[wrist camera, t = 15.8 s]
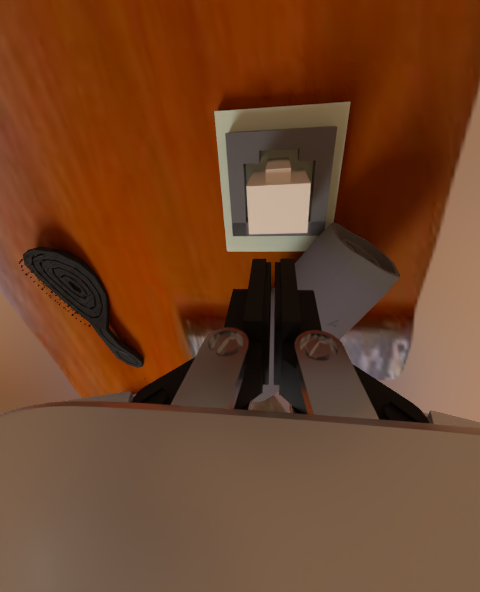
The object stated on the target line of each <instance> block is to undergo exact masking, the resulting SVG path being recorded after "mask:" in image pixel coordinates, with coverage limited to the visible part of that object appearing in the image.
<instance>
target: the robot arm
mask: <svg viewBox="0 0 480 592" xmlns="http://www.w3.org/2000/svg"><path fill="white" fill-rule="evenodd" d="M270 323H271V262H266V259H253V261H252V267H251V274H250V280H249V286H248V289H233V292H232V296H231V301H230V305H229V309H228V313H227V317H226V321H225V326H224V328H220V329H217V330H215V331H213V332H211V333H210V334H209V335H208V336H207V337H206V338H205V340H204V342H203V344H202V346H201V347H200V349H199V351H198V353H197V355H196V357H195V358H193V359H191V360H190V361H188V362H186V363H184V364H183V365H181V366H179V367H178V368H176V369H174V370H172V371H171V372H169V373H167V374H166V375H164V376H162V377H160V378H159V379H157V380H155V381H154V382H152V383H150V384H149V385H147V386H145V387H144V388H142V389H141V390H140V391H139V392H138V393H137V394H132V393H131V391H128V392H121V393H114V394H107V395H101V396H94V397H87V398H80V399H73V400H69V401H64V402H51V403H45V404H39V405H33V406H27V407H23V408H20V409H16V410H12V411H8V412H5V413H2V414H0V592H480V423H479V422H475V421H471V420H467V419H463V418H459V417H455V416H451V415H447V414H443V413H439V412H435V411H430V412H429V414H427V413H423V412H422V411H421V410H420V409H419V408H418V407H417V406H415V405H414V404H413V403H411V402H410V401H408V400H407V399H405V398H404V397H402V396H400V395H399V394H397V393H396V392H395V391H393V390H391V389H390V388H388V387H387V386H385V385H383V384H382V383H381V382H379V381H378V380H376V379H375V378H373V377H371V376H370V375H368V374H367V373H365V372H364V371H362V370H361V369H359V368H358V367H356V366H355V365H353V364H352V363H351V361H350V359H349V357H348V355H347V353H346V351H345V349H344V346H343V344H342V343H341V342H340V340H339V339H338V338H336V337H335V336H334V335H332V334H330V333H328V332H324V331H322V328H321V324H320V319H319V314H318V309H317V304H316V299H315V294H314V291H313V290H298V289H297V280H296V271H295V262H294V259H281V261H280V262H275V308H274V385H279V394H280V395H281V396H282V397H284V398H285V399H286V400H287V401H288V402H289V403H290V413H283V412H269V411H254V410H251V408H252V400H253V399H255V398H256V397H257V396H259V395H260V394H263V385H269V358H270Z"/></svg>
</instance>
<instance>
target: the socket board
mask: <svg viewBox="0 0 480 592" xmlns="http://www.w3.org/2000/svg"><path fill="white" fill-rule="evenodd" d="M349 110H350V102H338V103H324V104H310V105H296V106H282V107H268V108H254V109H240V110H226V111H214V113H215V125H216V136H217V147H218V158H219V169H220V180H221V191H222V202H223V213H224V224H225V235H226V246H227V251H306V250H307V249H308V248H309V246H310V245H311V244H312V243H313V242H314V241H315V240H316V238H317V237H318V236H319V235H320V234H321V233H322V232H323V231H324V230H325V229H326V228H327V227H328V226H329V225H330V224H331V223H334V216H335V209H336V202H337V195H338V188H339V181H340V173H341V166H342V159H343V152H344V145H345V138H346V131H347V124H348V117H349ZM275 158H289V161H290V166H291V169H295V168H304V169H305V171H306V174H307V176H308V178H309V180H310V182H311V187H310V202H309V216H308V231H307V233H287V234H249V225H248V207H247V190H246V186H247V184H248V182H249V179H250V177H251V175H252V173H253V171H261V170H265V169H266V165H267V161H268V159H275Z"/></svg>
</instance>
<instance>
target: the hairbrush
mask: <svg viewBox="0 0 480 592" xmlns="http://www.w3.org/2000/svg"><path fill="white" fill-rule="evenodd" d="M37 254H38V255H37ZM35 255H36V256H35ZM23 258H24V259H21V261H22V260H24V263H25V265H26V266H27V267H28V268H29V269H30V270H31V272H30V273H34V274H35V275H36V276H37V278H39V279H40V280H41V281H42V282H43V284H45V285H46V286H47V287H49V288H50V289H51V290H52V291H53V292H54V293H55V294H56V295H55V294H54V295H55V296H59V298H61V299H62V300H63V301H64V303H67V304H68V306H67V307H69V306H70V307H71V309H73V310H75V311H76V312H75V313H77V314H80V315H81V317H83V318H85V319H86V320H87V321H88V322H90V323H91V324H90V325H92V326H93V328H94V329H95V330H96V332H97V333H98V335H99V336H100V337H101V338H102V340H103V341H104V342H105V343H106V345H107V346H108V347H109V348H110V350H111V351H112V352H113V353H114V354H115V356H116V357H117V358H118V359H120V360H121V361H123V362H125V363H126V364H128V365H131V366H134V367H137V368H138V367H142V366H143V363H144V362H143V361H142V360H143V358H142V357H141V356H140V355H139V354H137V353H136V352H135V351H134V350H132V349H131V348H129V347H128V346H126V345H125V344H124V343H122V342H121V341H120V340H119V339H118V337H117V336H116V335H115V334H114V333H113V332H112V331H111V330H110V328H109V306H108V302H109V300H108V296H107V293H106V291H105V289H104V286H103V284H102V282H101V281H100V280H99V277H98V276H97V275H96V273H95V272H94V271H93V270H92V269H91V268H90V267H89V266H88V265H87V264H86V263H85V262H83V261H82V260H80V259H78V258H76V257H74V256H72V255H70V254H68V253H66V252H64V251H62V250H58V249H52V248H45V247H37V248H34V249H30V250H28V251H27V252H26V253H24V254H23ZM44 259H45V260H44ZM21 261H20V262H21ZM22 262H23V261H22ZM19 264H20V263H19ZM25 265H24V266H25ZM21 266H23V265H21ZM21 268H22V267H21ZM25 269H26V268H25ZM22 271H23V270H22ZM28 273H29V272H28ZM25 275H28V274H25ZM30 278H32V277H30ZM37 280H38V279H37ZM40 280H39V281H40ZM34 282H35V281H34ZM41 284H42V283H41ZM43 284H42V285H43ZM74 284H75V285H76V286H78V287H79V288H80V290H79V288H77V287H75V285H74ZM45 285H44V286H45ZM38 286H39V285H38ZM43 288H44V287H43ZM43 288H42V290H43ZM45 288H46V287H45ZM52 291H51V292H52ZM53 292H52V293H53ZM46 294H47V293H46ZM87 294H88V296H86V295H87ZM49 296H50V295H49ZM50 298H51V297H50ZM61 299H60V300H61ZM55 301H56V300H55ZM57 303H58V302H57ZM60 304H61V303H60ZM60 304H59V305H60ZM95 305H96V306H95ZM65 307H66V306H65ZM65 307H64V308H65ZM65 309H66V308H65ZM71 309H70V310H71ZM73 310H72V311H73ZM101 311H102V313H101ZM68 312H69V311H68ZM100 313H101V314H100ZM71 316H73V314H72V315H71ZM76 319H77V318H76ZM80 322H81V321H80ZM84 325H85V324H84ZM90 325H89V327H90Z"/></svg>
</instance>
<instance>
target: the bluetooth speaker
mask: <svg viewBox="0 0 480 592" xmlns="http://www.w3.org/2000/svg"><path fill="white" fill-rule="evenodd" d="M295 271H296V280H297V289H298V290H313V291H314V294H315V299H316V304H317V309H318V314H319V319H320V324H321V328H322V331H324V332H328V333H330V334H332V335H334V336H335V337H336V338H338V339H340V338H341V337H342V336H343V335H345V334H346V333H347V332H348V331H349V330H350V329H351V328H352V327H353V326H354V325H355V324H356V323H357V322H358V321H359V320H360V319H361V318H362V317H363V316H364V315H365V314H366V313H367V312H368V311H369V310H370V309H371V308H372V307H373V306H374V305H375V304H376V303H377V302H378V301H379V300H380V299H381V298H382V297H383V296H384V295H385V294H386V293H387V292H388V291H389V290H390V288H391V287H392V286H393V285H394V283H395V282H396V281H397V280H398V279H399V277H400V274H399V273H398V271H397V269H396V266H395V264H394V263H393V262H392V261H391V260H390V259H389V258H388V257H387V256H386V255H385V254H384V253H382V252H381V251H380V250H379V249H378V248H376V247H375V246H374V245H373V244H371V243H370V242H369V241H367V240H366V239H364V238H362V237H360V236H358V235H356V234H354V233H352V232H350V231H349V230H347V229H345V228H344V227H343V226H341V225H340V224H338V223H331V224H330V225H329V226H328V227H327V228H326V229H325V230H324V231H323V232H322V233H321V234H320V235H319V236H318V237H317V238H316V240H315V241H314V242H313V243H312V244H311V245H310V246H309V248H308V249H307V250H306V251H305V252H304V253H303V255H302V256H301V257H300V258H299V259H298V261H297V262H296V263H295ZM274 308H275V287H274V288H273V289H272V291H271V323H270V358H269V385H263V394H260V395H259V396H257V397H256V398H255V399H253V400H252V401H255V402H259V401H264V400H266V399H268V398H269V397H271V396H273V395H274V394H275V393H277V392H278V391H279V385H274Z"/></svg>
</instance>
